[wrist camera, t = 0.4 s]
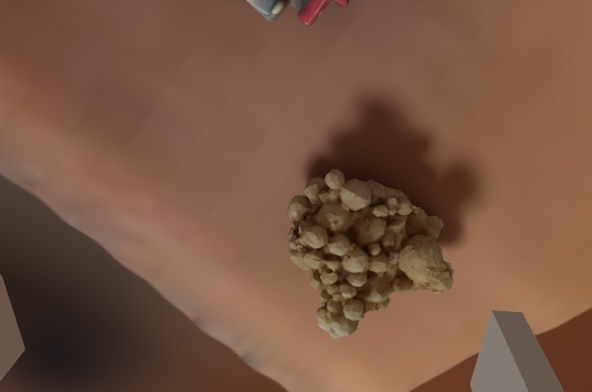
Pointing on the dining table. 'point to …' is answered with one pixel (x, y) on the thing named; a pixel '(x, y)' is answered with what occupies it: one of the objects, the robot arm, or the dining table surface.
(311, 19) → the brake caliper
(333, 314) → the mineral formation
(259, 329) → the dining table surface
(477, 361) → the robot arm
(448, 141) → the dining table surface
